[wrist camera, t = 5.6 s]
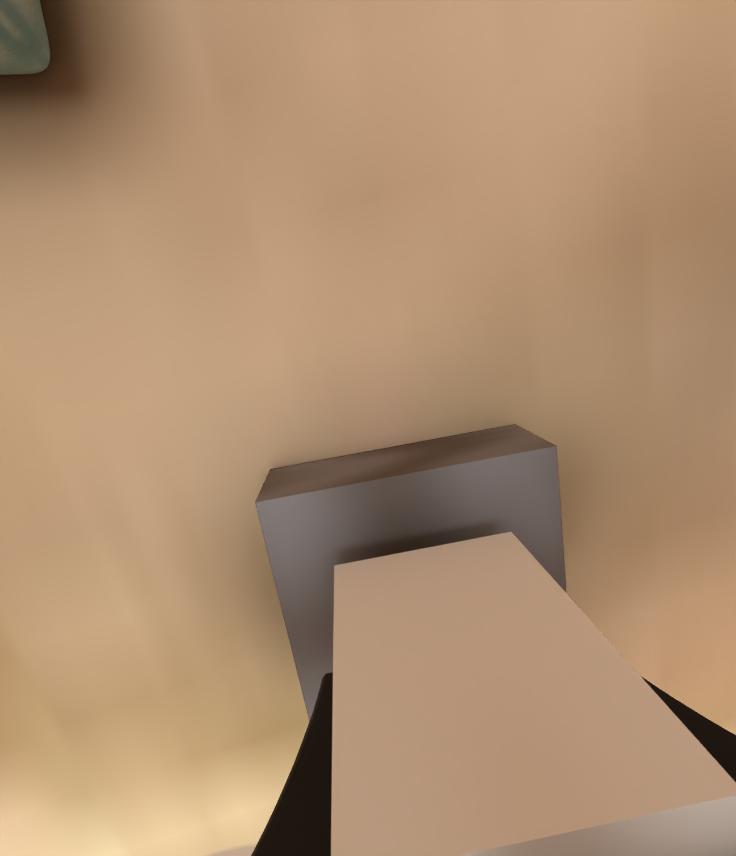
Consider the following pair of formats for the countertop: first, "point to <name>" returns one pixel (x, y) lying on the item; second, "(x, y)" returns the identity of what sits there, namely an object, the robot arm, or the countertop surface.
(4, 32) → the flower pot
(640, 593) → the countertop surface
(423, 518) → the charcoal plinth
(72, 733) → the countertop surface
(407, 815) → the cream block
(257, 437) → the countertop surface
